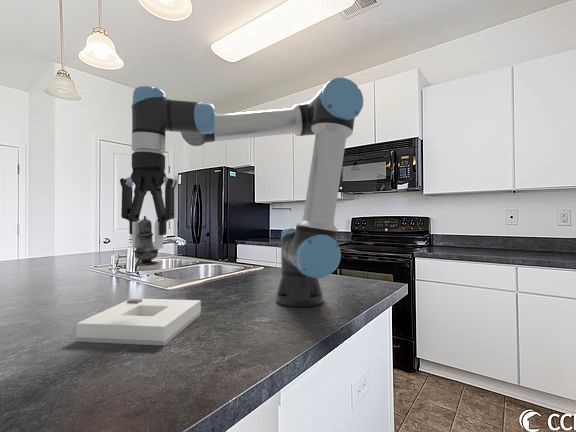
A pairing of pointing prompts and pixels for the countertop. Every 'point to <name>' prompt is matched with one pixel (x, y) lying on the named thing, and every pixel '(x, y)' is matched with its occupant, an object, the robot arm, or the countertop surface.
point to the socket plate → (140, 322)
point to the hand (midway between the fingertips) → (147, 248)
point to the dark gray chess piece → (145, 244)
